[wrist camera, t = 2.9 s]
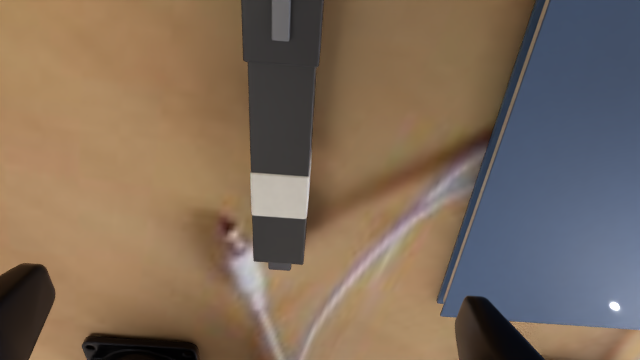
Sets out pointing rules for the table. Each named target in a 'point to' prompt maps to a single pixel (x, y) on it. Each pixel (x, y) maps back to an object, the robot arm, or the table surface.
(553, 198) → the notebook
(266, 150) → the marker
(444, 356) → the table surface
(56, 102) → the table surface
